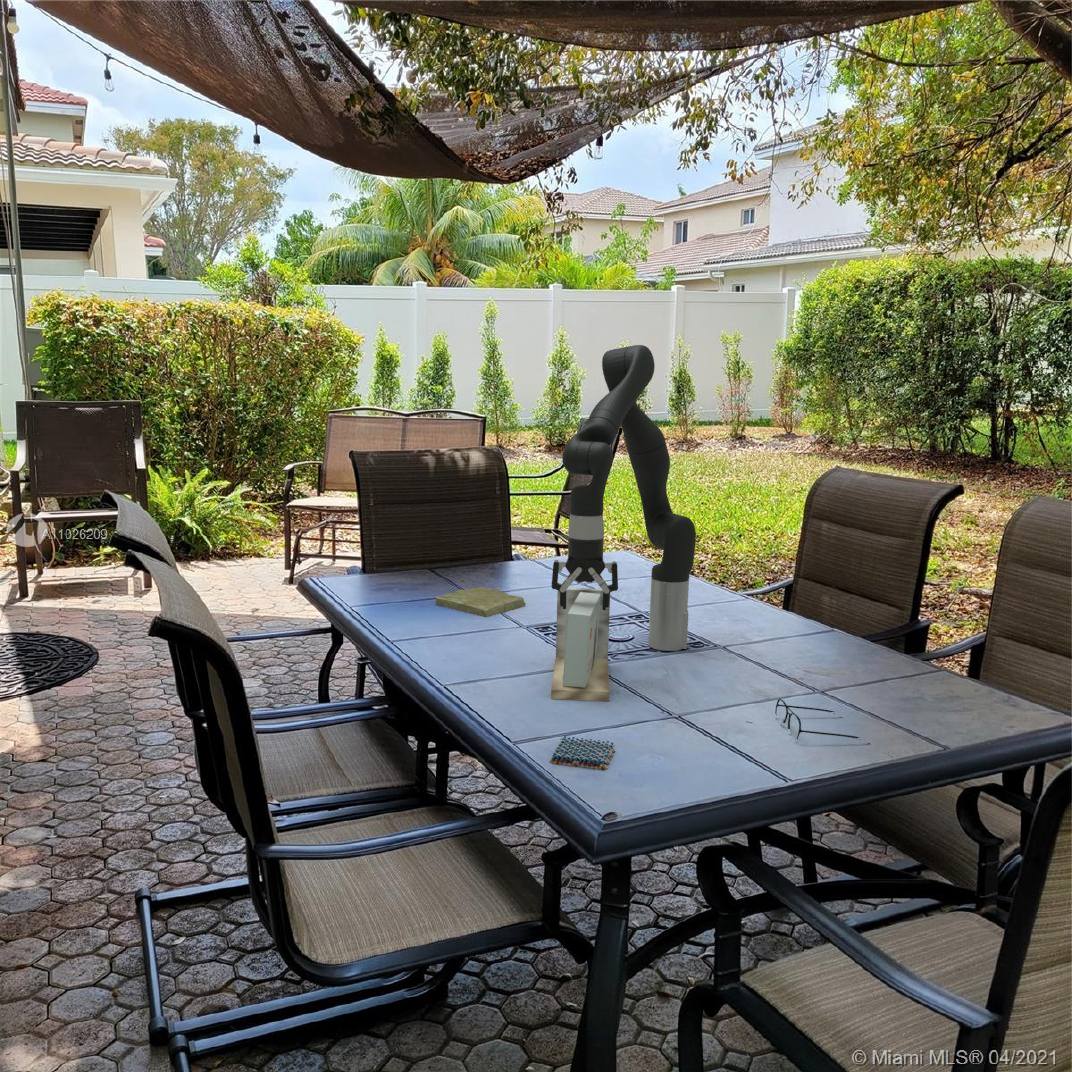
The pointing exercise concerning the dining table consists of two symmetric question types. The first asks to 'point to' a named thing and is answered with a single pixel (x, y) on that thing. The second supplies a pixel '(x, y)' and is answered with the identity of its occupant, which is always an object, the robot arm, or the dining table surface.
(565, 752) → the woven mat
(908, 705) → the dining table surface
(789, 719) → the glasses
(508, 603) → the decorative tile
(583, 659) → the skincare box
